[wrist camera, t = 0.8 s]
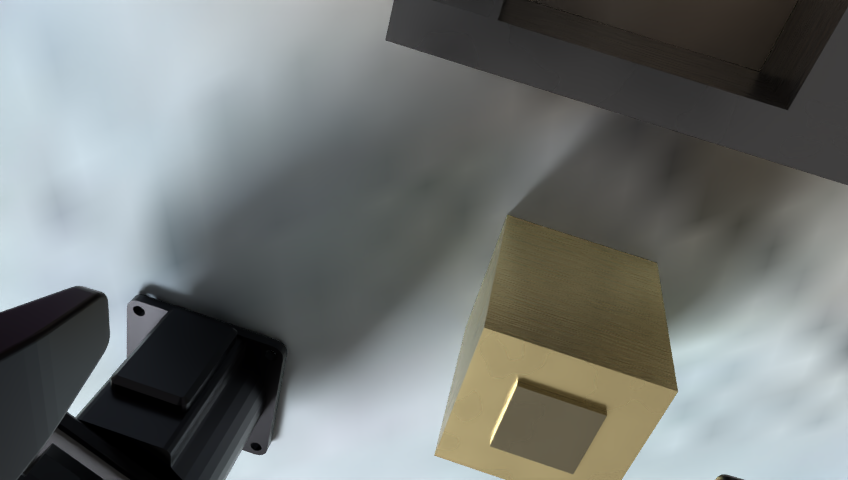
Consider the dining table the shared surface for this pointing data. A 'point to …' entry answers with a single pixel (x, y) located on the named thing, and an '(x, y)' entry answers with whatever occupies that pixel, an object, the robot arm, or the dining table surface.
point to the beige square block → (559, 361)
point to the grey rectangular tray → (660, 73)
